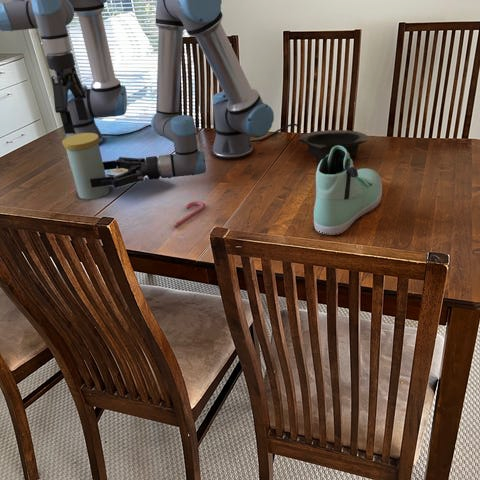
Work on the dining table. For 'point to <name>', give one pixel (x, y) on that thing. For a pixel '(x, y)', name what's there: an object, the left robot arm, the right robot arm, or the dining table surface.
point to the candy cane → (194, 213)
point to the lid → (80, 141)
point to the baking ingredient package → (117, 171)
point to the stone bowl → (333, 142)
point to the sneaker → (343, 192)
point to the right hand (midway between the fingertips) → (93, 174)
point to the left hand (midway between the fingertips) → (77, 126)
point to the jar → (87, 171)
